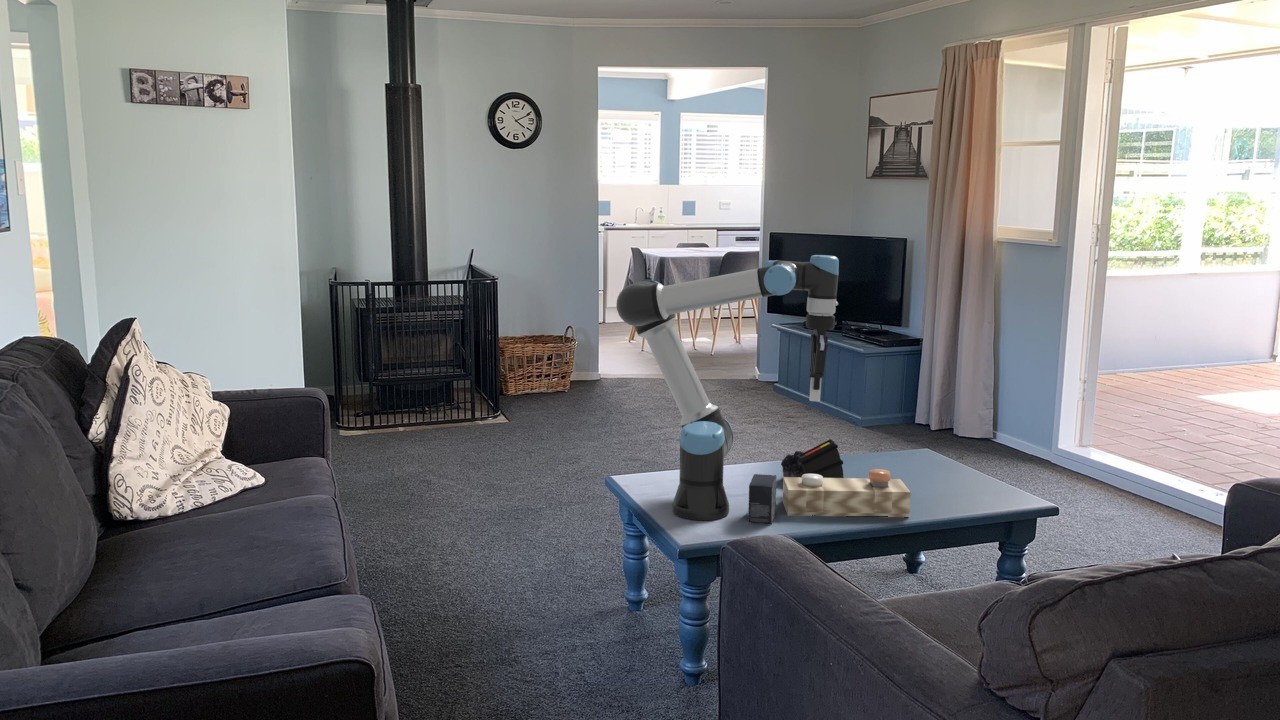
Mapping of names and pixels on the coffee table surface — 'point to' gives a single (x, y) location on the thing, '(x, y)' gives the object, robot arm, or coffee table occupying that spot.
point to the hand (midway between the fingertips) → (814, 400)
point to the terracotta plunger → (879, 478)
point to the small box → (762, 499)
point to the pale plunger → (812, 480)
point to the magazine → (822, 460)
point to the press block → (845, 498)
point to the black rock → (792, 465)
